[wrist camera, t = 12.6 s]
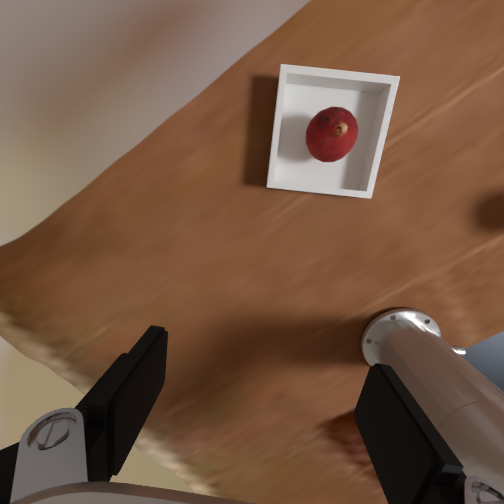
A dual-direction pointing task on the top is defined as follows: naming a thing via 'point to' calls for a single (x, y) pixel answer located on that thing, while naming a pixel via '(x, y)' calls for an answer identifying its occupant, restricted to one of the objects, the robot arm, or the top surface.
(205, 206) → the top surface
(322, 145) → the onion
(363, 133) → the box
